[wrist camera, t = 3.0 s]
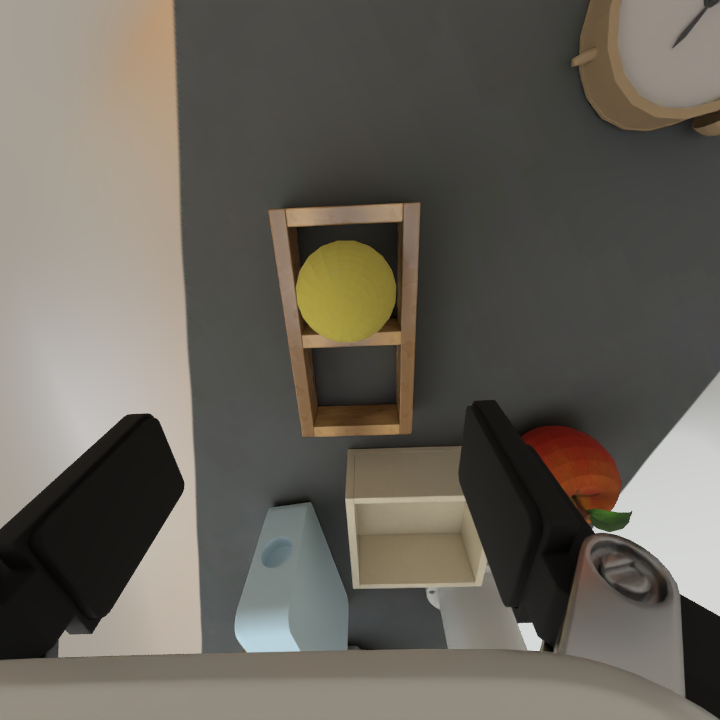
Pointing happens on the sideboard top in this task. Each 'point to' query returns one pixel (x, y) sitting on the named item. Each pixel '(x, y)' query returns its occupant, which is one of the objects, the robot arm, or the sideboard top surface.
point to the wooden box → (410, 520)
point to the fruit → (581, 473)
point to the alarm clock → (652, 63)
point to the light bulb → (346, 291)
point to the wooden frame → (392, 333)
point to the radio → (292, 588)
